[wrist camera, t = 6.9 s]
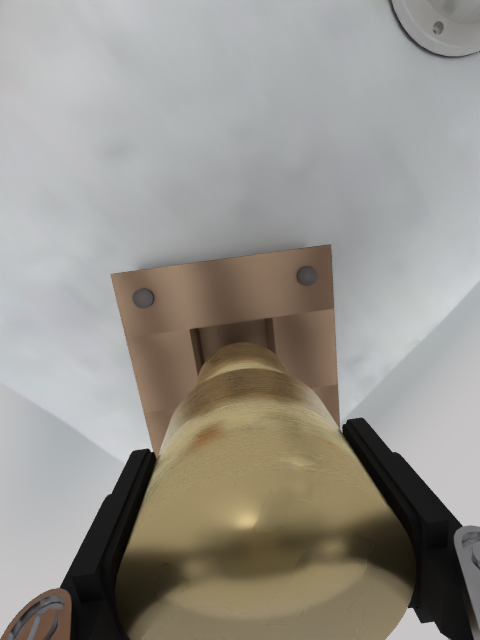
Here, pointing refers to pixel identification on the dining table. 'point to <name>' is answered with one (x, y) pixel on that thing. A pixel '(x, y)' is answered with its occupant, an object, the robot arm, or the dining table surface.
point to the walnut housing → (228, 323)
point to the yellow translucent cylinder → (261, 520)
